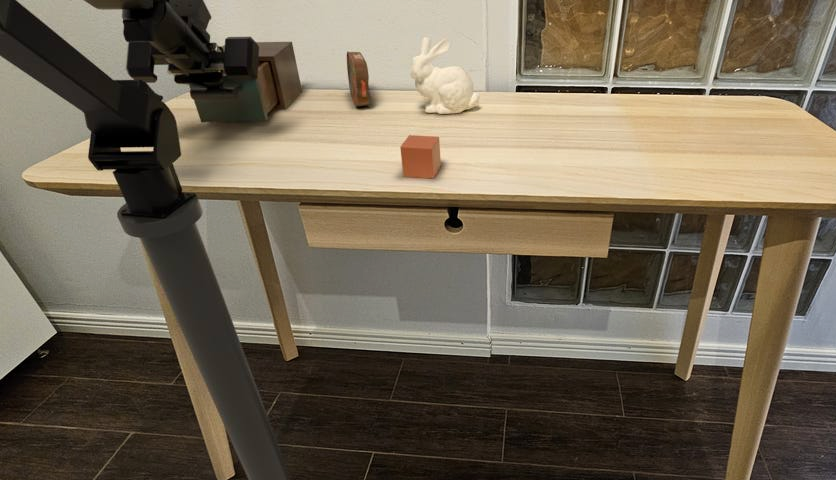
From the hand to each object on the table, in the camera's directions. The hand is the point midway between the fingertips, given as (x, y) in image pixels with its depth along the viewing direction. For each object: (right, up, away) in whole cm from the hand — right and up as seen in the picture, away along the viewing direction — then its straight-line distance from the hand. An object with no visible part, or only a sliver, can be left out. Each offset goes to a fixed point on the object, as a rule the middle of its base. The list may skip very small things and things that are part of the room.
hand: (220, 86), depth 89 cm
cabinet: (0, +3, +17) cm, 17 cm away
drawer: (0, -3, +7) cm, 7 cm away
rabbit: (+36, 0, +12) cm, 38 cm away
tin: (+20, +3, +17) cm, 26 cm away
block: (+35, -16, -11) cm, 40 cm away
